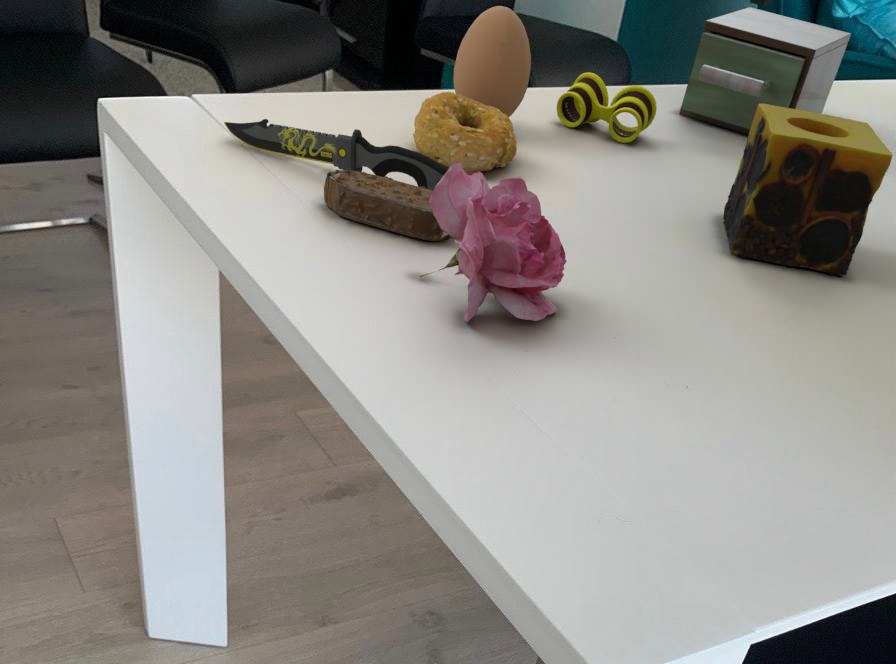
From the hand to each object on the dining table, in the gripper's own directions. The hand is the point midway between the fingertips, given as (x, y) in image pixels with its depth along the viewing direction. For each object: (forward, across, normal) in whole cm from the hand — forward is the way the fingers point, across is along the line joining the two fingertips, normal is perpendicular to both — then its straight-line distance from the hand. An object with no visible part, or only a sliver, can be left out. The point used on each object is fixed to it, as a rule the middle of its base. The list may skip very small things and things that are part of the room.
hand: (760, 2), depth 108 cm
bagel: (+13, +14, +35) cm, 40 cm away
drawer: (+12, 0, -7) cm, 14 cm away
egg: (+13, +18, +24) cm, 33 cm away
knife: (+13, +18, +49) cm, 54 cm away
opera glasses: (+13, +9, +13) cm, 21 cm away
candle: (+13, -16, +30) cm, 36 cm away
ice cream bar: (+13, +8, +54) cm, 56 cm away
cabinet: (+13, 0, -11) cm, 17 cm away
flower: (+13, -4, +61) cm, 62 cm away
